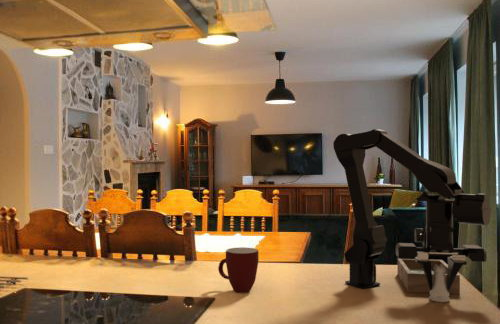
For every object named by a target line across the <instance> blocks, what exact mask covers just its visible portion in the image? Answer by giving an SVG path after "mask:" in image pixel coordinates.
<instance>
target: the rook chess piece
mask: <svg viewBox="0 0 500 324" xmlns="http://www.w3.org/2000/svg"><path fill="white" fill-rule="evenodd" d="M432 270H433V271H434V275H433V276H434V281H433V287H432V290H431V291H430V292H429V296H428V298H429V299H430V301H432V302H435V303H448V302H449V301H450V300H451V299H450V294H449V293H448V292H447V289H446V284H445V277H446V276H445V272H446V271H447V269H446V268H445V265H443V266H442V264H439V266H438V264H434V265H433V268H432Z"/></svg>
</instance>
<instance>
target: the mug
mask: <svg viewBox="0 0 500 324" xmlns="http://www.w3.org/2000/svg"><path fill="white" fill-rule="evenodd" d="M259 258H260V257H259V249H258V248H254V247H245V246H244V247H241V246H240V247H231V248H228V249H226V250H225V258H223V259H221V261H220V262H219V264H218V269H217V270H218V273H219V276H221V277H222V278H223V279H226V280H228V281H229V284H230V286H231V288H232V289H233V292H235V293H239V294H246V293H249V292H250V291H251V290H252V288H253V287H254V284H255V282H256V279H257V272H258V265H259ZM224 265H226V271H227V274H226V273H225V272H224Z"/></svg>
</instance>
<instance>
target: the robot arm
mask: <svg viewBox="0 0 500 324" xmlns="http://www.w3.org/2000/svg"><path fill="white" fill-rule="evenodd" d="M332 145H333V146H332V147H333V151H334V153H335V156H336V159H337V160H338V162H339V163H340V164H341V166H342V167H343V168H344V173H345V174H344V175H345V178H346V183H347V188H348V193H349V198H350V203H351V207H352V213H353V217H354V227H353V230H352V246H350V248H349V249H347V250H346V252H344V253H343V254H344V259H345V261H346V263H349V280H345V282H344V284H347V285H350V286H353V287H358V288H360V289H367V288H372V287H377V286H378V287H379V286H381V283H380V282H377V265H376V260H379V259H380V256H381V254H382V253H383V252H384V250H385V249H386V246H387V245H386V242H388V238H387V236H386V231H385V227H384V225H383V224H382V225H379V224H378V223H377V222H376V220H375V217H374V214H373V209H372V203H371V199H370V194H369V189H368V184H367V180H366V174H365V169H364V163H365V158H366V150H371V149H373V148H377V149H379V150H380V151H381V152H383V153H384V154H386V155H387V156H389V157H390V158H392V159H393V160H394V161H396V162H398V163H399V164H400V165H401V166H403V167H404V168H406V169H407V170H408V171H410V172H411V174H412V175H413V176H414V178H415V180H416V181H417V182H419V184H420V185H421V186H422V187H424V189H425V190H424V191H423V192H422V193H421V194H420V195H419V196H418V197H417V198H416V201H417V202H425V231H424V228H419V227H417V228H414V234H413V235H414V236H413V237H414V242H415V243H422V246H417V245H415V244H414V243H413V242H411V243H410V242H409V243H408V242H398V243H397V244H396V245H395V255H396V257H397V259H414V260H415V261H416V262H417V263H420V264H421V266H422V268H423V271H424V274H425V277H426V280H427V283H428V286H429V288H430V290H432V271H431V261H430V260H431V259H429V256H432V257H433V256H434V257H447V265H448V271H447V281H446V286H447V290H450V288H451V286H452V284H453V281H454V279H455V277H456V275H457V273H458V274H459V272H460V270H461V268H462V267H463V266H467V264H468V261H467V260H466V259H467V258H468V259H469V260H470V261H471V262H483V263H484V262H485V263H486V262H487V251H486V250H485V249H484V248H483V247H481V246H480V245H479V244H478V245H477V244H461V247H460V248H457V247H456V248H455V246H454V235H453V234H454V233H455V232H454V220H456V221H457V223H458V224H463V225H464V224H465V225H473V226H474V225H476V226H485V227H486V226H489V224H490V222H491V215H492V210H491V208H490V202H489V199H488V195H487V193H477V194H475V193H474V194H473V193H472V194H471V193H466V192H465V190H464V189H463V188H462V186H460V184H459V182H458V181H457V177H456V176H457V175H456V173H455V171H453V170H452V168H449V167H448V166H445V165H442V164H440V163H438V162H436V161H432V160H430V159H427V158H424V157H423V156H421V155H420V154H419V153H417V152H416V151H414V150H412V149H411V148H410V147H408V146H406V145H405V144H404V143H402V142H401V141H399V140H397V139H396V138H394V137H393V136H391V134H389V133H388V132H387V131H386V130H384V129H377V128H376V129H374V128H373V129H371V130H369V131H368V130H367V131H364V132H363V131H362V132H358V133H353V134H351V133H341V134H338V135H337V136H336V137H335V139H334V140H333V142H332ZM432 193H437V194H432Z"/></svg>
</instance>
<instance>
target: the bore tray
mask: <svg viewBox="0 0 500 324" xmlns="http://www.w3.org/2000/svg"><path fill="white" fill-rule="evenodd" d="M429 260H430V261H431V271H432V287H433V281H434V276H433V275H434V271H433V270H432V268H433V265H434V264H438V266H439V264H442V266H443V265H445V268H446V269H447V271H448V263H446V262H445V261H444V260H443V259H429ZM447 271H446V272H445V276H446V277H445V284H446V281H447ZM397 276H398V278H399V280H400V282H401V283H402V284H403V286H404V288H405V289H406V292H408V293H426V294H427V293H429V292H430V291H431V290H430V288H429V286H428V283H427V280H426V277H425V274H424V271H423V268H422V266H421V264H420V263H417V262H416V261H415V260H414V259H400V258H397ZM460 278H461V277H460V274H459V272H458V273H457V275H456V277H455V279H454V281H453V284H452V286H451V288H450V290H447V292H448V293H449V295H461V291H460V290H461V289H460V288H461V282H460ZM446 289H447V286H446ZM429 294H430V293H429Z"/></svg>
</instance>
